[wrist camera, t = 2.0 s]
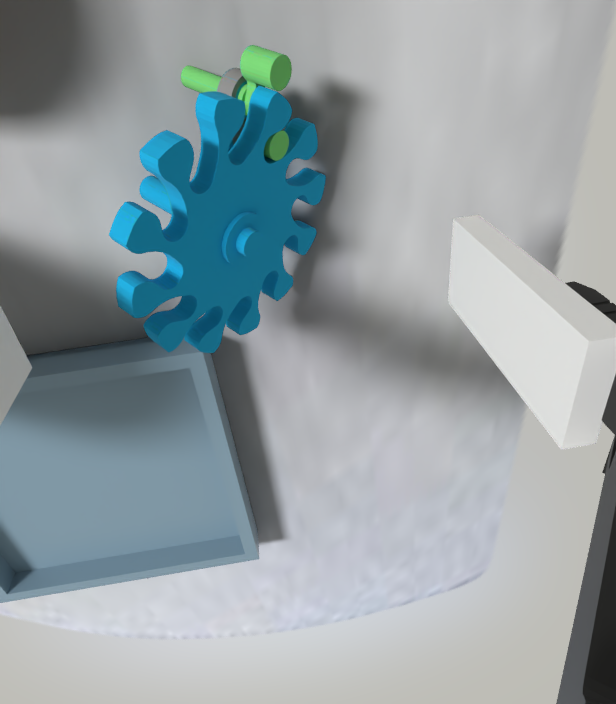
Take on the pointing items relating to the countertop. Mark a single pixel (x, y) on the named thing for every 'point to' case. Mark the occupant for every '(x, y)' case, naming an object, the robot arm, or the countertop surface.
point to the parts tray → (118, 471)
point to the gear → (221, 207)
